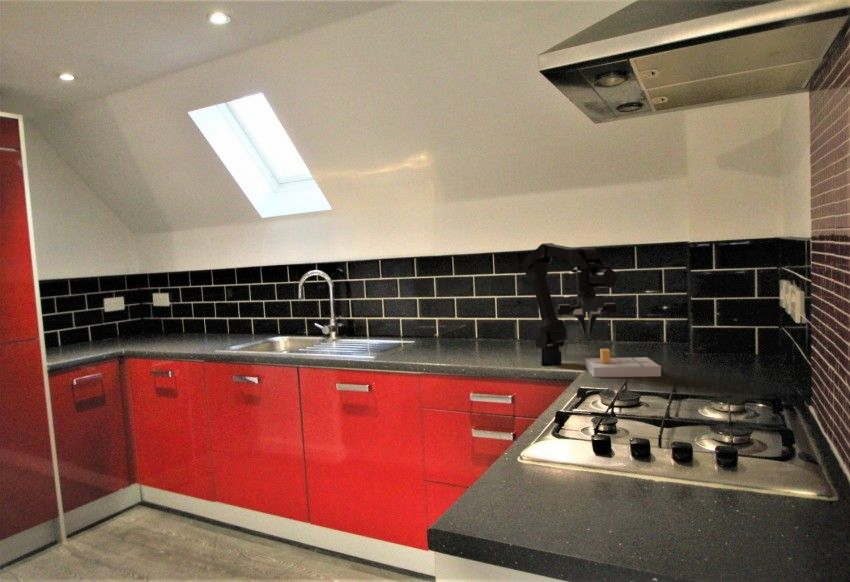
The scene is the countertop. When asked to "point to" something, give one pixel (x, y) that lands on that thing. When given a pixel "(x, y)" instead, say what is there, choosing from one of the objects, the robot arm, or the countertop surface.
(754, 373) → the countertop surface
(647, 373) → the console
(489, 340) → the countertop surface
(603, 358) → the fader knob
